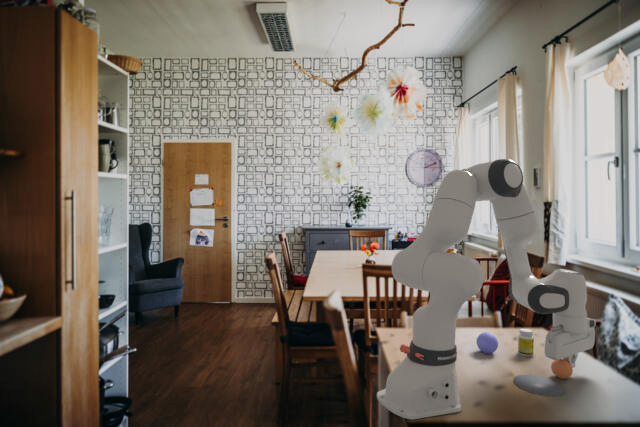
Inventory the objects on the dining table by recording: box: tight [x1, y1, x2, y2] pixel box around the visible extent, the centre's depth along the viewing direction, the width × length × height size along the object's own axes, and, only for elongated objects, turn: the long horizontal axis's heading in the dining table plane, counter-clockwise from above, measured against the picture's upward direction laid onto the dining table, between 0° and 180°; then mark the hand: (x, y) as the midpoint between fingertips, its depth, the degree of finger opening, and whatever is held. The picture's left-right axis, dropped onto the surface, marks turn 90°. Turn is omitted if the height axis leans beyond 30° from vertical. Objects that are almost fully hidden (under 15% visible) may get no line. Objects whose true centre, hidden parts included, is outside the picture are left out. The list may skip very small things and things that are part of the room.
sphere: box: [475, 332, 499, 354], centre depth 138 cm, size 7×7×7 cm
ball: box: [550, 358, 574, 380], centre depth 118 cm, size 6×6×6 cm
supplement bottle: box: [517, 328, 534, 357], centre depth 137 cm, size 5×5×8 cm
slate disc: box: [512, 374, 566, 397], centre depth 113 cm, size 13×13×1 cm
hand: (569, 367), depth 120 cm, fingers closed
